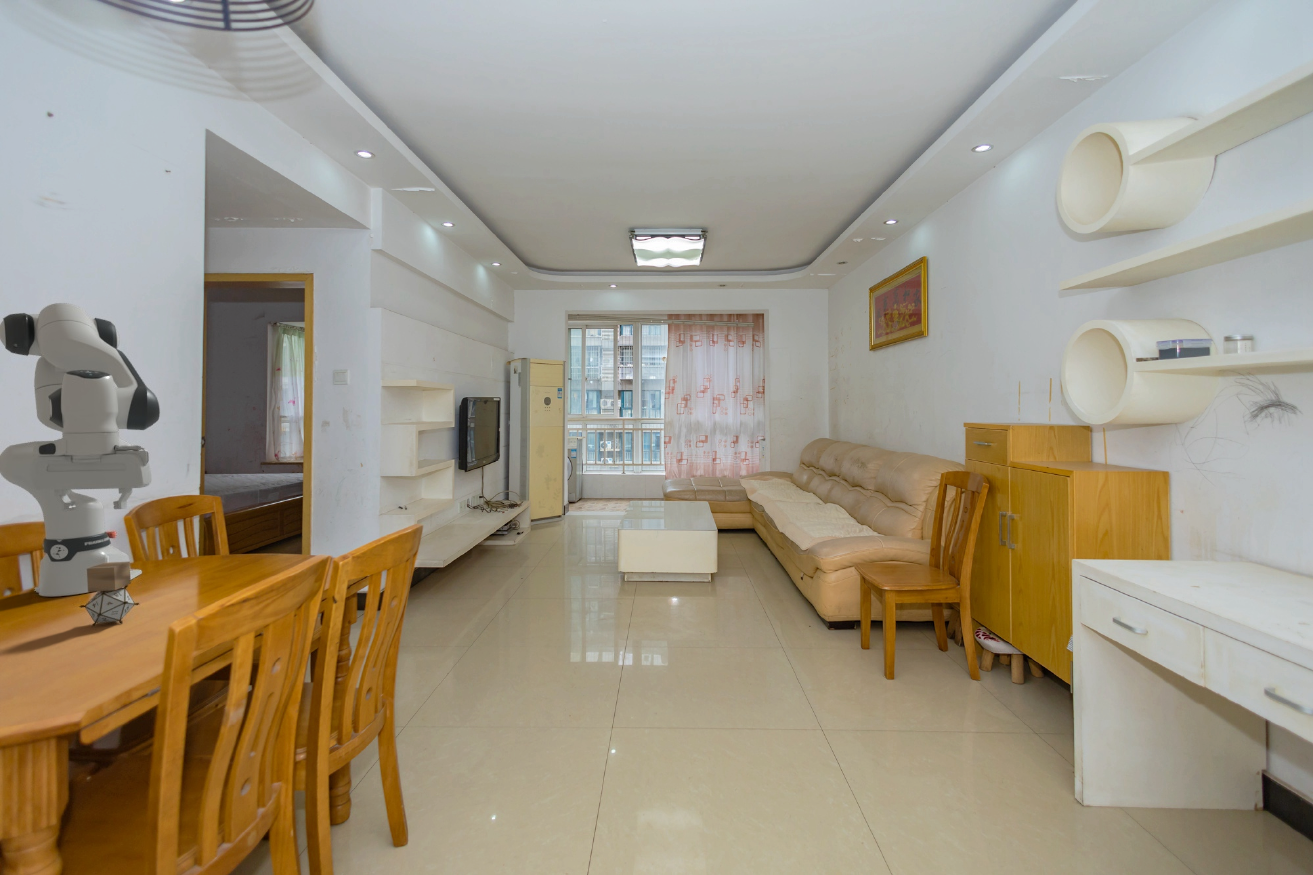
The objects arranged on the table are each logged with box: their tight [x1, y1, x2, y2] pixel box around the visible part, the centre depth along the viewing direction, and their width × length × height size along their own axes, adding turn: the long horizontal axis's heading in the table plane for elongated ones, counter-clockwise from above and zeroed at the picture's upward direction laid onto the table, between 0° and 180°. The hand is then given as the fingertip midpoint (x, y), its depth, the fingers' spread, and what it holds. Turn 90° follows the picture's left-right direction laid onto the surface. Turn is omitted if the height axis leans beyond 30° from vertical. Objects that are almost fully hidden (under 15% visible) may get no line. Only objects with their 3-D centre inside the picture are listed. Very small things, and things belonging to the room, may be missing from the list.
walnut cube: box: [87, 561, 132, 593], centre depth 129 cm, size 5×5×5 cm
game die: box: [78, 585, 140, 628], centre depth 129 cm, size 9×8×10 cm
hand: (94, 509), depth 127 cm, fingers open, 8 cm apart
